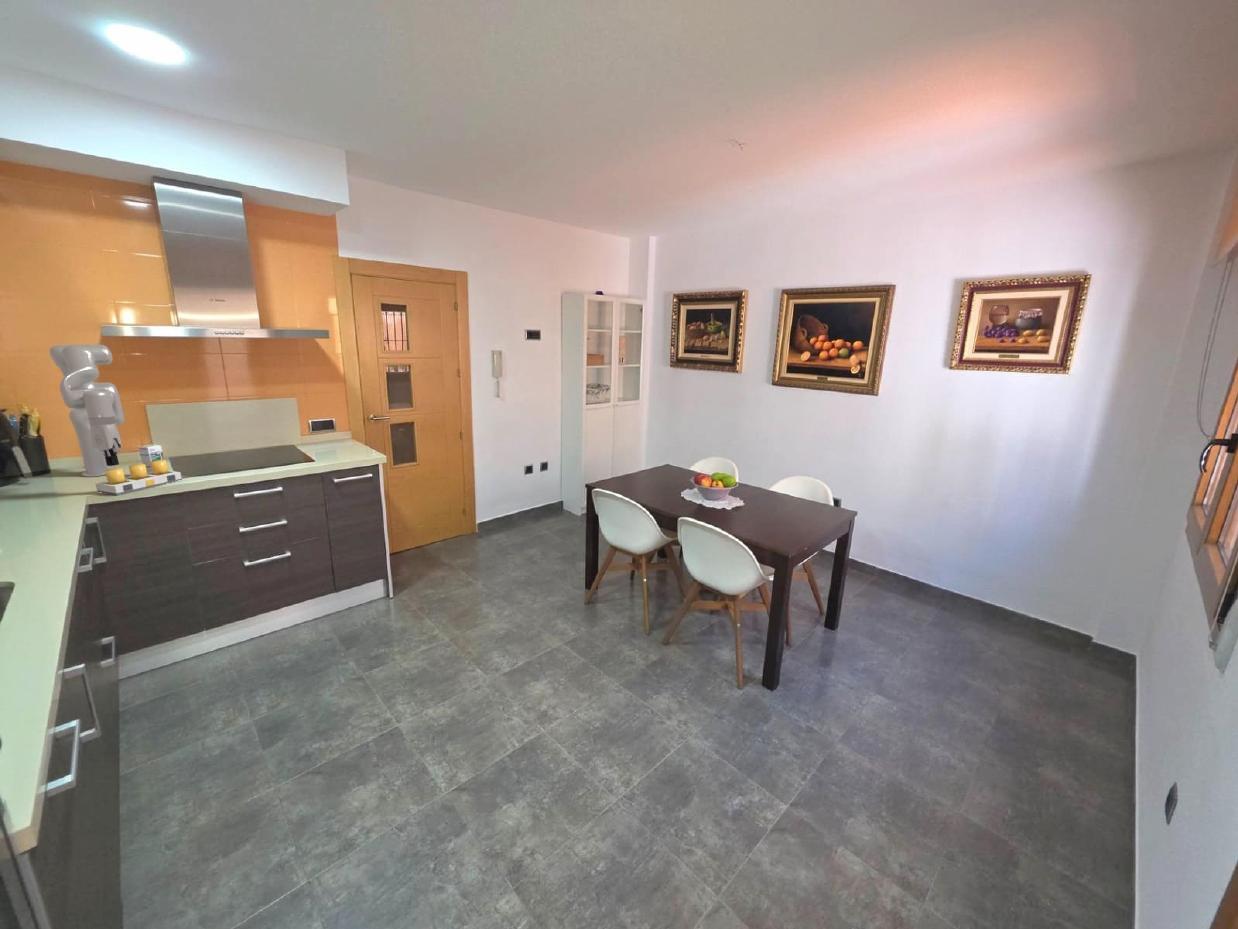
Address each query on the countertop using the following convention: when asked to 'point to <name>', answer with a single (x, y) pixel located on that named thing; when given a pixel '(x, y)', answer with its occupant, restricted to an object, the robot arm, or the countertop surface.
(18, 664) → the countertop surface
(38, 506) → the countertop surface
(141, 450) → the syrup box
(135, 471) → the button mid
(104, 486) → the console
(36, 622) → the countertop surface
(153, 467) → the button far
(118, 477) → the button near
